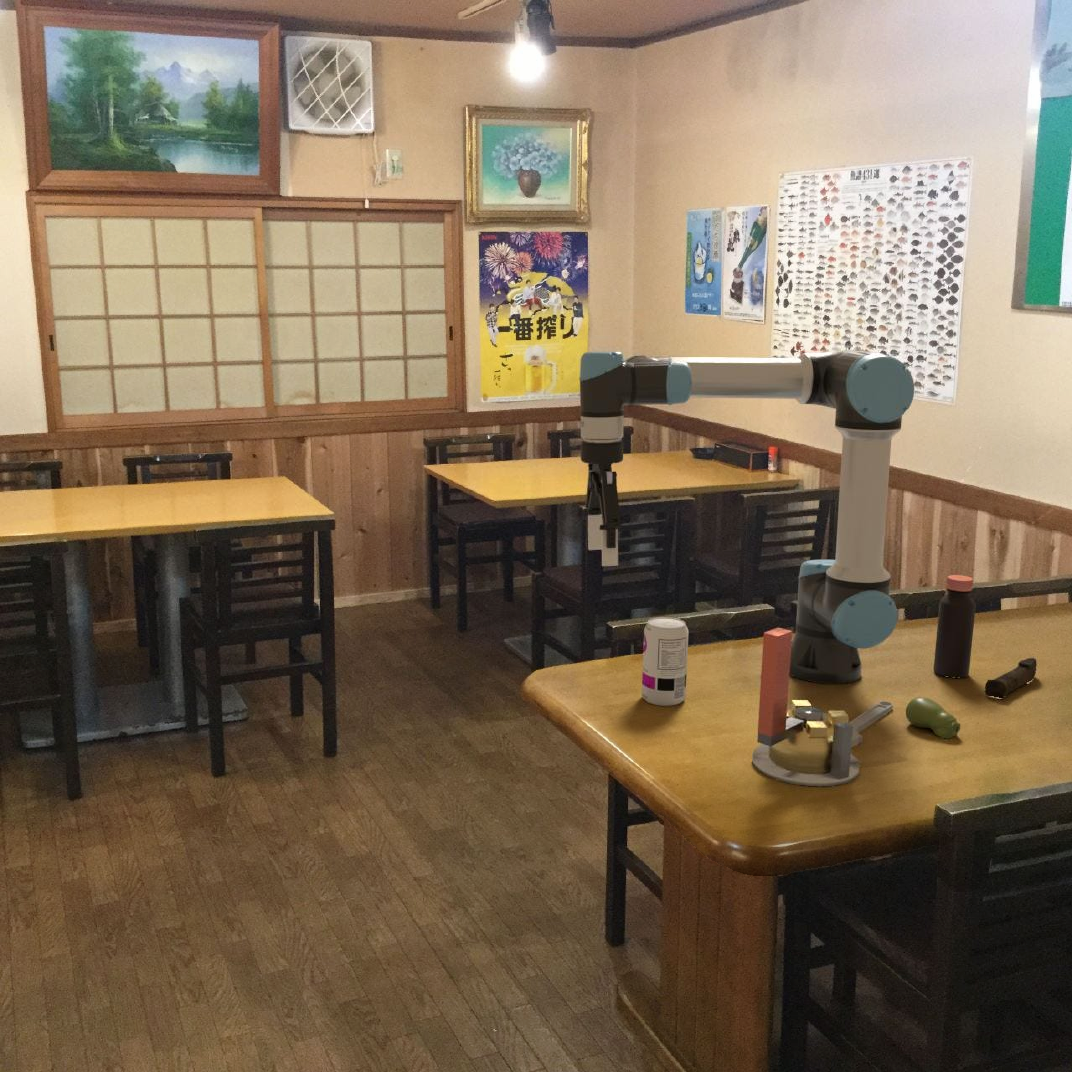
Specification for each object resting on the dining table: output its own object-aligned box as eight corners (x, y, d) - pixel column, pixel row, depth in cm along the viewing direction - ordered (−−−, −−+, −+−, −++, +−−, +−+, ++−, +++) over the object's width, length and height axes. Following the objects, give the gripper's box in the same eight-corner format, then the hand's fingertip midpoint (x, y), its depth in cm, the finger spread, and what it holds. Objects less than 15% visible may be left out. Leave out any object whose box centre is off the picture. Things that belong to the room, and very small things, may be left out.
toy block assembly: (793, 737, 199) (802, 603, 194) (857, 757, 191) (868, 618, 186) (729, 769, 186) (737, 626, 181) (795, 792, 178) (805, 643, 172)
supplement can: (634, 702, 218) (637, 624, 215) (651, 689, 225) (654, 614, 222) (675, 710, 215) (679, 631, 211) (691, 696, 222) (695, 620, 219)
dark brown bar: (1003, 702, 222) (1006, 679, 221) (983, 697, 225) (985, 674, 224) (1047, 681, 235) (1050, 659, 234) (1027, 676, 238) (1030, 654, 237)
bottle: (975, 675, 237) (985, 579, 233) (954, 681, 233) (964, 583, 229) (947, 666, 242) (956, 572, 238) (926, 671, 239) (935, 576, 234)
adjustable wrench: (880, 707, 219) (881, 698, 219) (913, 716, 215) (914, 707, 215) (812, 743, 201) (813, 733, 201) (846, 753, 197) (847, 743, 197)
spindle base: (835, 743, 200) (839, 690, 198) (876, 784, 184) (881, 727, 182) (739, 746, 198) (742, 693, 196) (771, 789, 182) (775, 731, 180)
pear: (922, 689, 211) (970, 715, 204) (915, 715, 213) (962, 741, 206) (903, 695, 208) (951, 721, 201) (896, 721, 210) (943, 748, 202)
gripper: (569, 432, 219) (570, 544, 223) (593, 449, 194) (594, 573, 199) (609, 431, 220) (609, 542, 224) (638, 447, 195) (638, 571, 200)
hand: (602, 557), depth 211 cm, fingers open, 13 cm apart
